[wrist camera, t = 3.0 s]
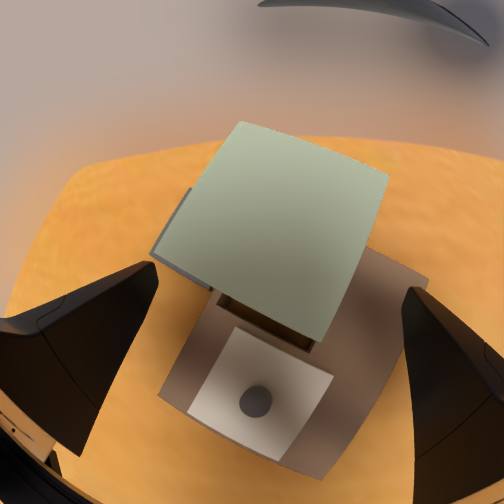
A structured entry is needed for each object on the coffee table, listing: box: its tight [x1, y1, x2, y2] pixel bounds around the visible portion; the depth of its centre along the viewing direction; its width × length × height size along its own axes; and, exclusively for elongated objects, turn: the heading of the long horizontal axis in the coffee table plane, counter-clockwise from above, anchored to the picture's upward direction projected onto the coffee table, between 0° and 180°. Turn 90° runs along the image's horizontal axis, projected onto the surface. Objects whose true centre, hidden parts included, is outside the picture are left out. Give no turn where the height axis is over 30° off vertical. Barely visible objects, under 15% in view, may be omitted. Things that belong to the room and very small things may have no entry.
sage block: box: [154, 121, 390, 343], centre depth 12 cm, size 4×4×12 cm
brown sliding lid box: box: [158, 246, 429, 480], centre depth 14 cm, size 14×12×4 cm
